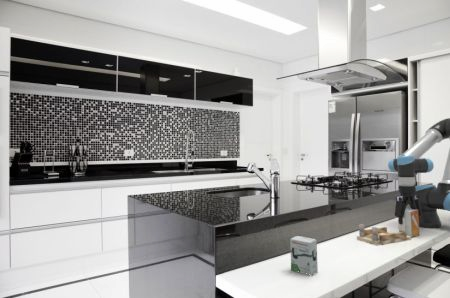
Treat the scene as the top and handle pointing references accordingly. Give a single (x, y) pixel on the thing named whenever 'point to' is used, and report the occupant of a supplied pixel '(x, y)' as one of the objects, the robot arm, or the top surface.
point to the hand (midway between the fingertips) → (409, 229)
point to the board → (380, 235)
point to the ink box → (304, 254)
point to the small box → (411, 222)
